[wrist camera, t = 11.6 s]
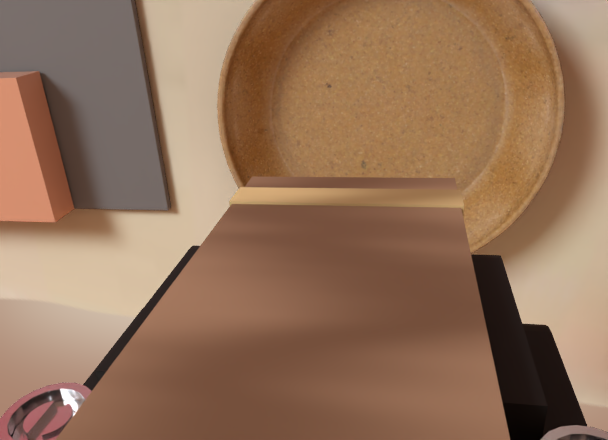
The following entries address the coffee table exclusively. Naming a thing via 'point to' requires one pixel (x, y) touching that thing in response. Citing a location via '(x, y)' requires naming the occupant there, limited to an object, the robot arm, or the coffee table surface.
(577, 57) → the coffee table surface
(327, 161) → the plant saucer
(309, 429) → the block
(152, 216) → the coffee table surface
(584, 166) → the coffee table surface
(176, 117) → the coffee table surface
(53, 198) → the tile
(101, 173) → the mat
